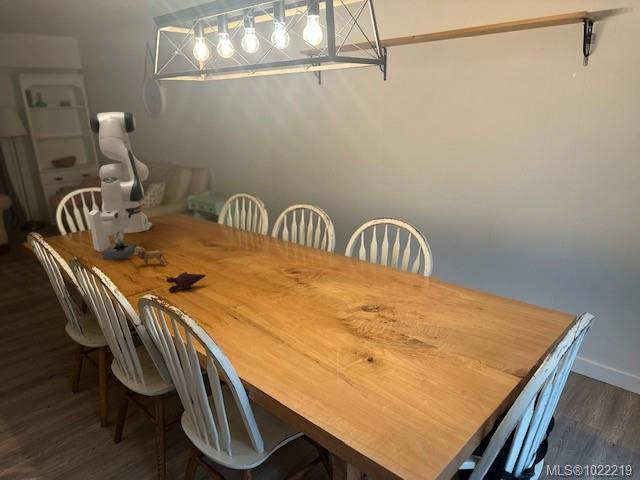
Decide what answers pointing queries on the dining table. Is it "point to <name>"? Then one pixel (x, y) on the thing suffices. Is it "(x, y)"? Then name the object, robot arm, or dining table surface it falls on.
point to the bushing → (120, 240)
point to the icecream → (184, 281)
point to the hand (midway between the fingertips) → (119, 240)
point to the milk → (98, 231)
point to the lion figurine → (148, 255)
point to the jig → (119, 252)
